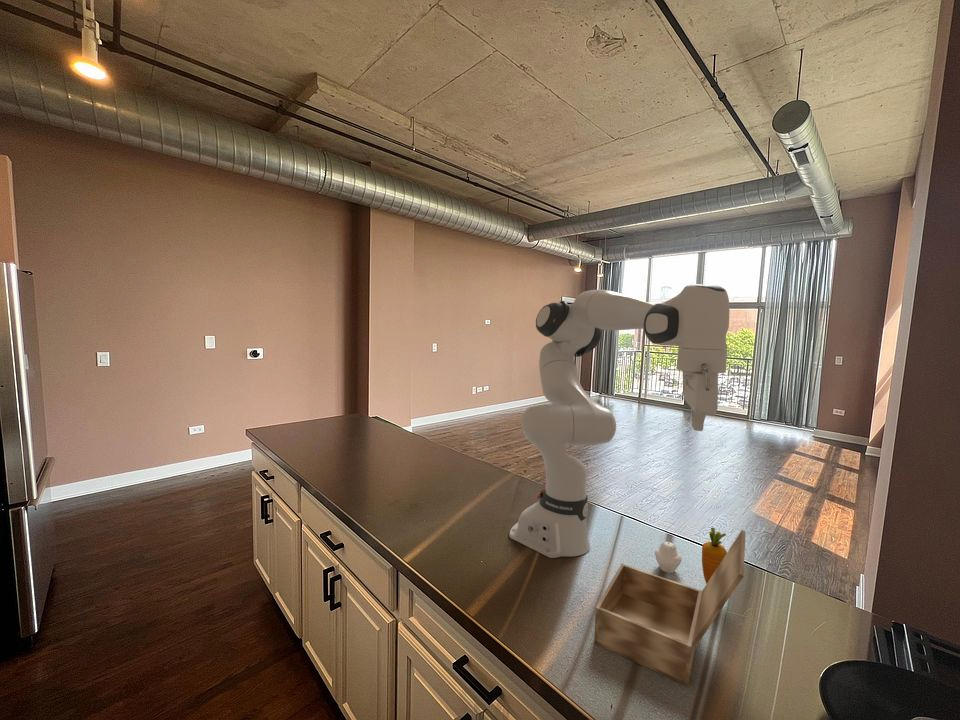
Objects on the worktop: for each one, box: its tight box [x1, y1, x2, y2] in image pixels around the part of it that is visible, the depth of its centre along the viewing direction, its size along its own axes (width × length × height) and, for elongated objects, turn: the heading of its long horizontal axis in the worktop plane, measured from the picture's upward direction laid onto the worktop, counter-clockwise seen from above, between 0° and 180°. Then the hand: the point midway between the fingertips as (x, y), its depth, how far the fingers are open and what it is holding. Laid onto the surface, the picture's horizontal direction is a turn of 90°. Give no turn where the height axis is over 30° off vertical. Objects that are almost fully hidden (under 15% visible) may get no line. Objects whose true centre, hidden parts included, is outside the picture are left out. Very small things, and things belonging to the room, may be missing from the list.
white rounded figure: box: [654, 541, 682, 574], centre depth 100 cm, size 6×6×7 cm
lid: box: [692, 529, 746, 648], centre depth 71 cm, size 16×18×1 cm
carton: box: [593, 563, 703, 688], centre depth 78 cm, size 16×18×7 cm
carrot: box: [701, 527, 728, 585], centre depth 91 cm, size 5×5×15 cm
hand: (697, 429), depth 83 cm, fingers closed
